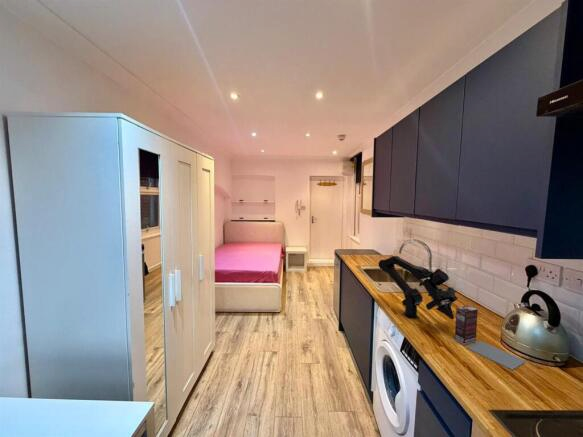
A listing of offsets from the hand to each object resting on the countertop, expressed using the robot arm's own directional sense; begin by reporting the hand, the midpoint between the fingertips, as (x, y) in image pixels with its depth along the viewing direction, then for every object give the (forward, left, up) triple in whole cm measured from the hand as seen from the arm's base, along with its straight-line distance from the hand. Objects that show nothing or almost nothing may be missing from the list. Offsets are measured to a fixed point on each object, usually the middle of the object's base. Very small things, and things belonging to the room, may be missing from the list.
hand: (453, 318), depth 125 cm
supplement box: (+5, +2, -8) cm, 10 cm away
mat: (+17, +6, -8) cm, 20 cm away
